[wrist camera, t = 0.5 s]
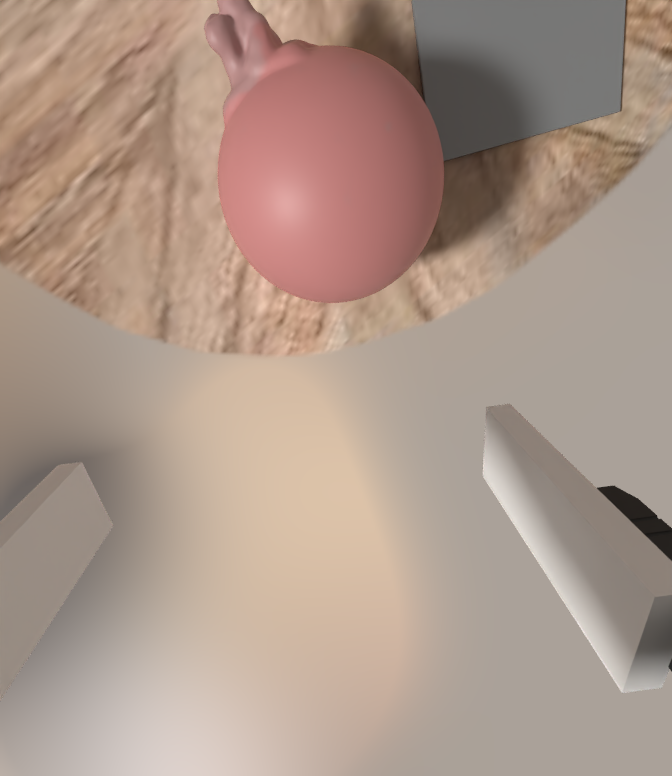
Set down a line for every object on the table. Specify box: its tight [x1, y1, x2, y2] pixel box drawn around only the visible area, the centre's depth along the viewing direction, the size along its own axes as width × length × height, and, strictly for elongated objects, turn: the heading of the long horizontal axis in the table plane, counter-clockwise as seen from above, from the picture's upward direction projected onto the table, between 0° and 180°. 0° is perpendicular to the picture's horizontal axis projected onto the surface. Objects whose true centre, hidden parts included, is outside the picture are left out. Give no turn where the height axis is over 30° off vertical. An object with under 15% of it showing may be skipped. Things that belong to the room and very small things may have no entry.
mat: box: [412, 0, 626, 161], centre depth 30 cm, size 11×16×1 cm
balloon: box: [204, 0, 444, 303], centre depth 26 cm, size 15×20×15 cm
